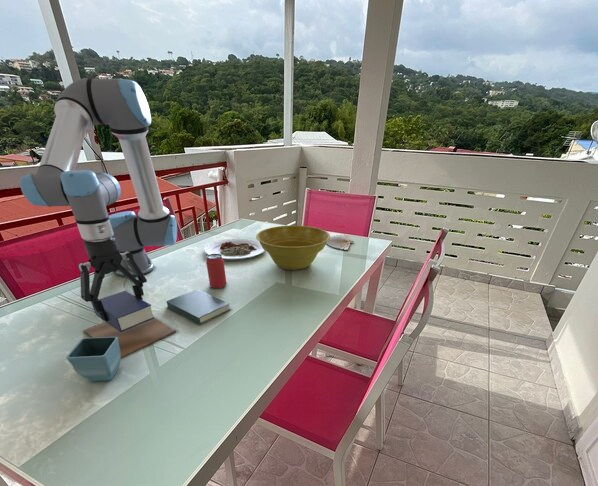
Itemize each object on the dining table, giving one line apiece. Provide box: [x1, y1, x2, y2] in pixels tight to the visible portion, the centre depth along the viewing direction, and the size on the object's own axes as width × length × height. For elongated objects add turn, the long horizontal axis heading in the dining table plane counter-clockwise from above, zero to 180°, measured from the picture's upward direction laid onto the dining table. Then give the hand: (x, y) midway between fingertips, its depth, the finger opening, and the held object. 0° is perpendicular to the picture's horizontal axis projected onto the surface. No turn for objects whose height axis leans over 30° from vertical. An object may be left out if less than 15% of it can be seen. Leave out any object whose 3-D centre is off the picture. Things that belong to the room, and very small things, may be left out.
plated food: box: [204, 238, 266, 261], centre depth 163 cm, size 30×30×3 cm
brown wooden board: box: [83, 317, 177, 359], centre depth 102 cm, size 22×18×1 cm
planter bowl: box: [255, 225, 331, 271], centre depth 147 cm, size 32×32×13 cm
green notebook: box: [165, 288, 231, 325], centre depth 115 cm, size 18×13×2 cm
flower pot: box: [65, 337, 122, 382], centre depth 83 cm, size 9×9×9 cm
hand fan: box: [326, 233, 354, 251], centre depth 178 cm, size 26×1×15 cm
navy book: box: [90, 290, 156, 332], centre depth 98 cm, size 15×10×4 cm
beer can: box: [205, 254, 228, 289], centre depth 128 cm, size 7×7×12 cm
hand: (123, 312), depth 99 cm, fingers closed on navy book, 10 cm apart
